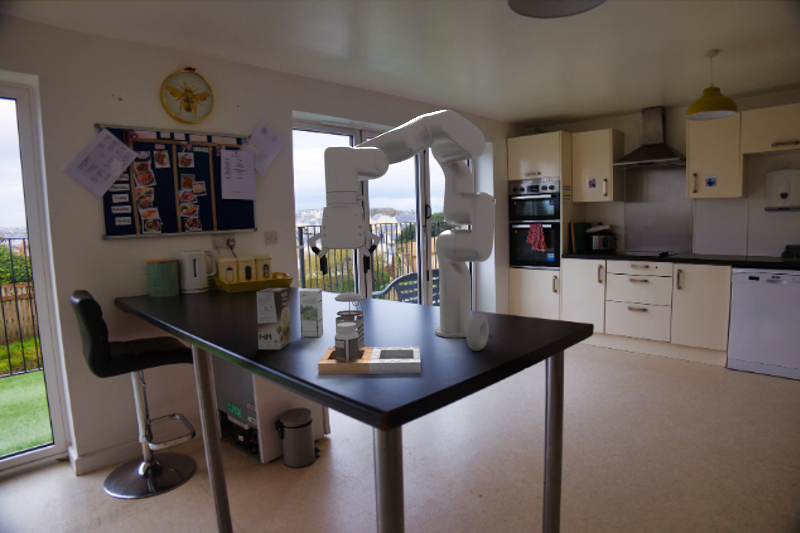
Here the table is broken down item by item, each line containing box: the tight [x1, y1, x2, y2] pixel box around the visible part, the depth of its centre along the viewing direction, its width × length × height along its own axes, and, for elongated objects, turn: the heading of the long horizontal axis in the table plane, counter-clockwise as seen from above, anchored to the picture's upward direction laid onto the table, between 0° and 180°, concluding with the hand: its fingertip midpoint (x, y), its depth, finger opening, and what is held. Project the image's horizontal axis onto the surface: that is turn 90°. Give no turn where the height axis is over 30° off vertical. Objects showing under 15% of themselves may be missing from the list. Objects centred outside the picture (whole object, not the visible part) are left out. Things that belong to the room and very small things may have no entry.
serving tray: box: [317, 346, 422, 375], centre depth 113 cm, size 23×14×2 cm, turn 89°
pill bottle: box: [334, 322, 359, 360], centre depth 113 cm, size 6×6×10 cm
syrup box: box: [298, 287, 324, 338], centre depth 145 cm, size 6×6×14 cm
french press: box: [332, 256, 369, 348], centre depth 130 cm, size 10×12×25 cm
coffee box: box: [255, 287, 292, 350], centre depth 133 cm, size 9×6×16 cm
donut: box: [465, 312, 490, 352], centre depth 124 cm, size 10×4×10 cm, turn 148°
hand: (345, 273), depth 111 cm, fingers open, 9 cm apart
